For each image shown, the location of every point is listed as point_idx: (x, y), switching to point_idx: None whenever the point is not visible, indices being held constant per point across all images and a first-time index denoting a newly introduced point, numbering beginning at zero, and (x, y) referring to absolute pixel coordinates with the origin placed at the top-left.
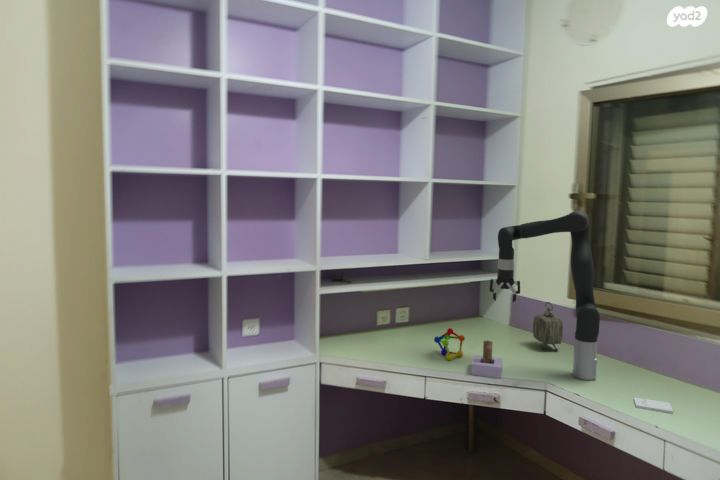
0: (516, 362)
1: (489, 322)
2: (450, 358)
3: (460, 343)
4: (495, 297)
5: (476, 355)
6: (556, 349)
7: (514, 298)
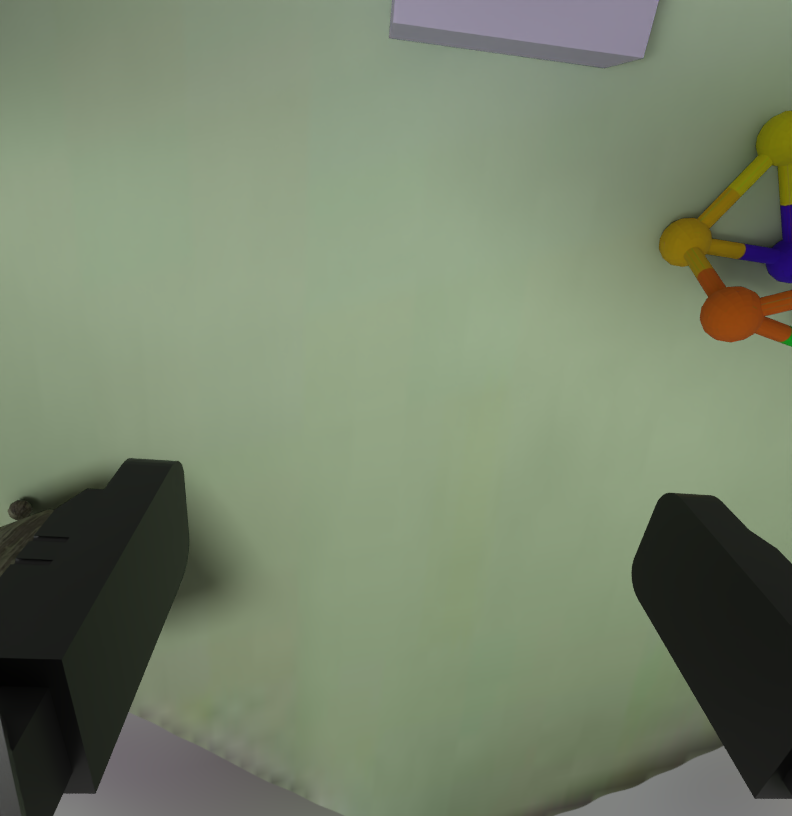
0: (273, 221)
1: (401, 807)
2: (787, 111)
3: (721, 281)
4: (740, 549)
5: (625, 42)
6: (16, 506)
7: (81, 550)
